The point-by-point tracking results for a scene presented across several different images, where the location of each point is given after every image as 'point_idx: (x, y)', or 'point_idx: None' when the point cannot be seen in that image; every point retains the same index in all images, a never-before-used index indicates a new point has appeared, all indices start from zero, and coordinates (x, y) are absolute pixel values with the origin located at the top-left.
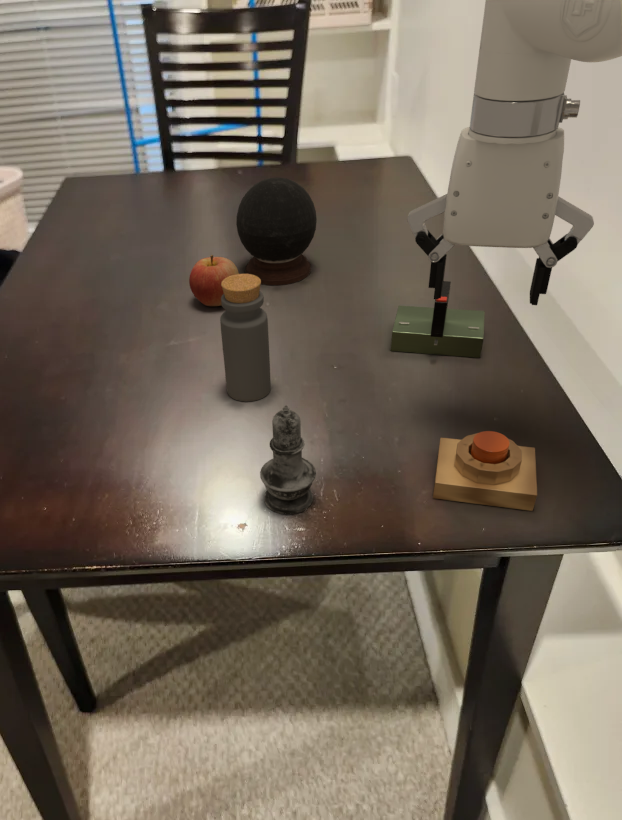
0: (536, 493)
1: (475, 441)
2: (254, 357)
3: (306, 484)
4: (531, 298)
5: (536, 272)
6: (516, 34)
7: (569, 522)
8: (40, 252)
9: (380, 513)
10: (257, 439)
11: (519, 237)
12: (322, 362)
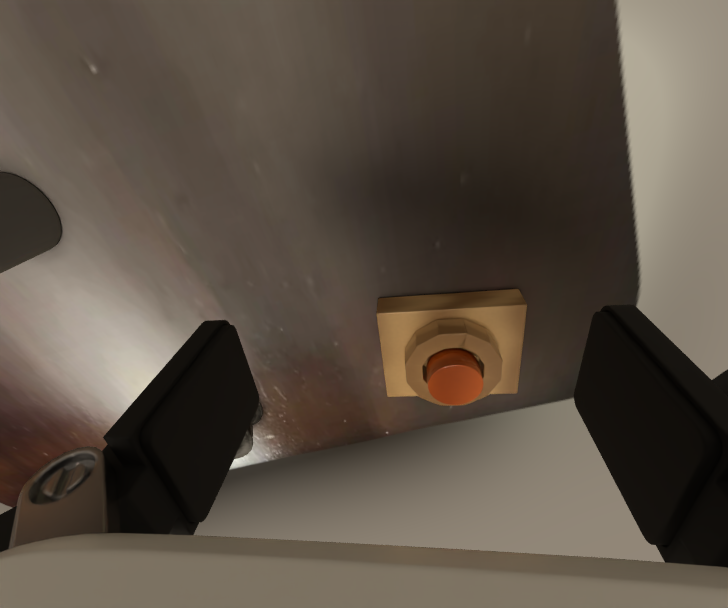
0: (516, 391)
1: (431, 390)
2: None
3: (249, 449)
4: (584, 418)
5: (641, 525)
6: None
7: (553, 380)
8: None
9: (337, 407)
10: (134, 327)
11: None
12: (54, 53)
